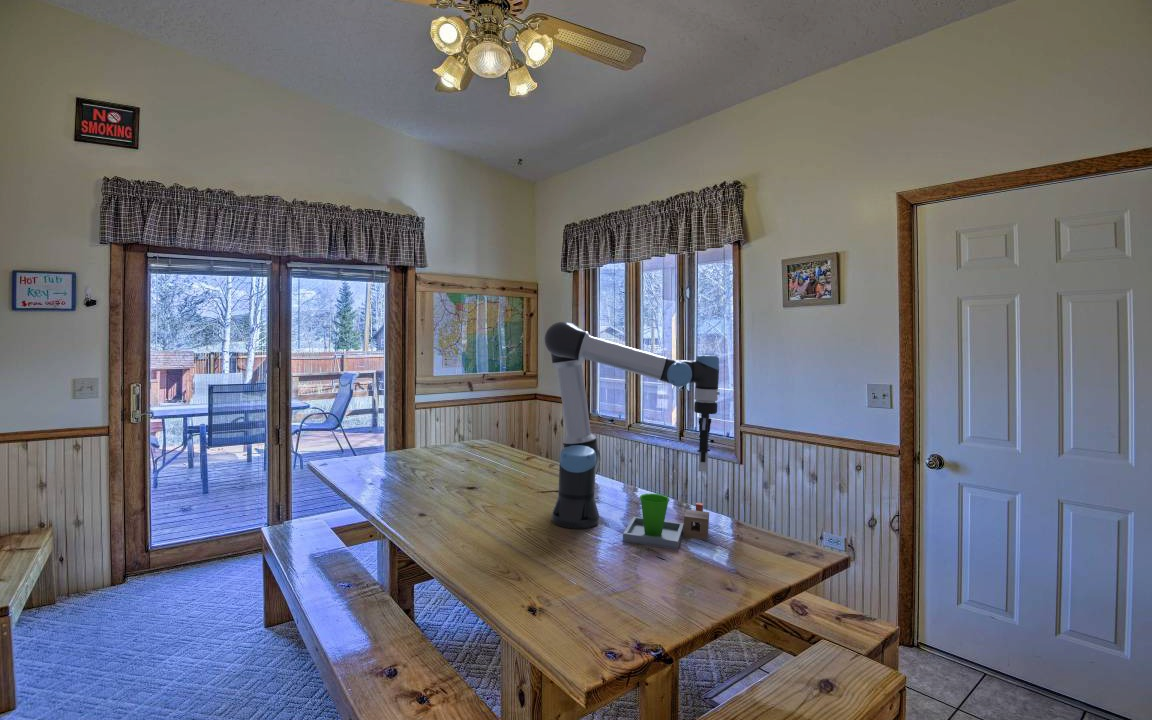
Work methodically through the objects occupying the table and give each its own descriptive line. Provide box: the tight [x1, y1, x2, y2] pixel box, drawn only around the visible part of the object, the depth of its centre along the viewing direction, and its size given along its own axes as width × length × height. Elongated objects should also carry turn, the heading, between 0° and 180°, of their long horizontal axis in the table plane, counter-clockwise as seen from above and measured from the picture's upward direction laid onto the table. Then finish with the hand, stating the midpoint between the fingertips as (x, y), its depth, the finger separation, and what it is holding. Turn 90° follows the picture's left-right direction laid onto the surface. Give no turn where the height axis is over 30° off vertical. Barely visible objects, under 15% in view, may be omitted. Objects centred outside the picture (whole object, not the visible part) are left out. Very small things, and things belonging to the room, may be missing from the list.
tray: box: [622, 516, 684, 550], centre depth 165 cm, size 16×16×2 cm
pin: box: [693, 502, 704, 524], centre depth 174 cm, size 10×2×5 cm, turn 163°
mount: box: [682, 508, 710, 541], centre depth 167 cm, size 7×7×6 cm
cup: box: [639, 493, 670, 536], centre depth 165 cm, size 9×9×11 cm
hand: (702, 470), depth 183 cm, fingers closed
